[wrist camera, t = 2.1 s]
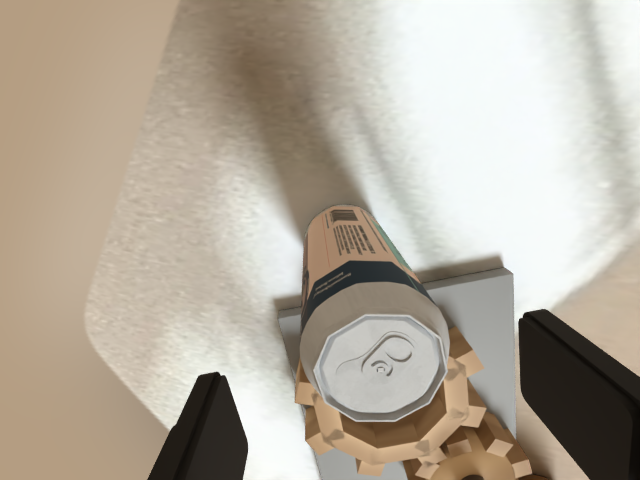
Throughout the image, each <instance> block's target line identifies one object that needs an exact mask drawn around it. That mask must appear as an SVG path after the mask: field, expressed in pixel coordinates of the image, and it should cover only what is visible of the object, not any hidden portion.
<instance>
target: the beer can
mask: <svg viewBox="0 0 640 480" xmlns="http://www.w3.org/2000/svg"><path fill="white" fill-rule="evenodd" d="M449 347H450V339H449V333H448V327H447V324H446V321H445V319H444V317H443V315H442V313H441V311H440V310H439V308H438V307H437V305H436V304H435V302H434V301H433V300H432V298H431V297H430V295H429V294H428V293H427V291H426V290H425V288H424V287H423V286H422V284H421V283H420V281H419V280H418V278H417V277H416V276H415V274H414V273H413V271H412V270H411V269H410V267H409V266H408V264H407V263H406V262H405V260H404V259H403V257H402V256H401V254H400V253H399V252H398V250H397V249H396V247H395V246H394V245H393V243H392V242H391V240H390V239H389V238H388V236H387V235H386V233H385V232H384V230H383V229H382V228H381V226H380V225H379V223H378V222H377V221H376V219H375V218H374V217H373V216H372V215H371V214H370V213H368V212H367V211H365V210H363V209H362V208H360V207H357V206H353V205H336V206H332V207H329V208H327V209H325V210H323V211H322V212H320V213H319V214H318V215H316V217H315V218H314V219H313V220H312V221H311V223H310V224H309V226H308V228H307V231H306V233H305V239H304V253H303V277H302V301H301V326H300V359H301V362H302V366H303V369H304V372H305V374H306V376H307V378H308V380H309V381H310V383H311V384H312V386H313V387H314V388H315V390H316V391H317V392H318V393H319V394H320V395H321V397H322V398H323V400H324V402H325V403H326V404H327V405H329V406H331V407H332V408H334V409H336V410H337V411H339V412H341V413H342V414H344V415H346V416H347V417H349V418H350V419H352V420H354V421H355V422H396V421H398V420H399V419H401V418H403V417H405V416H407V415H409V414H411V413H413V412H415V411H416V410H418V409H420V408H422V407H424V406H426V405H428V404H430V402H431V400H432V399H433V397H434V395H435V393H436V392H437V390H438V388H439V387H440V385H441V383H442V381H443V380H444V378H445V376H446V374H447V373H448V370H447V363H448V356H449Z"/></svg>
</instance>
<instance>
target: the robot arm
mask: <svg viewBox="0 0 640 480" xmlns="http://www.w3.org/2000/svg"><path fill="white" fill-rule="evenodd" d="M518 326H519V355H520V384H521V392H522V395H523V397H524V399H525V401H526V402H527V403H528V405H529V406H530V407H531V408H532V410H533V411H534V412H535V413H536V414H537V416H538V417H539V418H540V419H541V421H542V422H543V423H544V424H545V425H546V427H547V428H548V429H549V430H550V431H551V433H552V434H553V435H554V436H555V438H556V439H557V440H558V441H559V442H560V444H561V445H562V446H563V447H564V449H565V450H566V451H567V452H568V453H569V455H570V456H571V457H572V458H573V459H574V461H575V462H576V463H577V464H578V466H579V467H580V468H581V469H582V470H583V472H584V473H585V474H586V475H587V476H588V478H589V479H590V480H640V377H639V376H637V375H636V374H635V373H633V372H632V371H630V370H629V369H628V368H626V367H625V366H624V365H622V364H621V363H619V362H618V361H617V360H615V359H614V358H613V357H611V356H610V355H608V354H607V353H606V352H604V351H603V350H602V349H600V348H599V347H597V346H596V345H595V344H593V343H592V342H590V341H589V340H588V339H586V338H585V337H584V336H582V335H581V334H579V333H578V332H577V331H575V330H574V329H573V328H571V327H570V326H568V325H567V324H566V323H564V322H563V321H562V320H560V319H559V318H557V317H556V316H555V315H553V314H552V313H550V312H549V311H548V310H546V309H541V310H536V311H530V312H526V313H524V315H523V318H520V319H519V322H518ZM247 454H248V442H247V438H246V435H245V432H244V429H243V426H242V423H241V420H240V417H239V414H238V411H237V408H236V405H235V402H234V399H233V396H232V393H231V390H230V387H229V384H228V381H227V378H226V377H225V376H224V375H223V376H221V375H220V374H219V372H213V373H208V374H203V375H199V376H198V378H197V380H196V382H195V384H194V387H193V389H192V391H191V393H190V395H189V397H188V400H187V402H186V404H185V406H184V408H183V411H182V413H181V415H180V417H179V419H178V421H177V424H176V425H175V426H173V428H172V429H171V431H170V433H169V435H168V437H167V439H166V441H165V443H164V445H163V447H162V450H161V452H160V454H159V456H158V458H157V460H156V462H155V464H154V467H153V469H152V471H151V473H150V475H149V477H148V479H147V480H243V475H244V470H245V465H246V460H247Z"/></svg>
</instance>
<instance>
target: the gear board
mask: <svg viewBox="0 0 640 480" xmlns="http://www.w3.org/2000/svg"><path fill="white" fill-rule="evenodd" d="M421 284H422V286H423V287H424V288H425V290H426V291H427V293H428V294H429V295H430V297H431V298H432V300H433V301H434V302H435V304H436V305H437V307H438V308H439V310H440V311H441V313H442V315H443V317H444V319H445V321H446V324H447V327H448V330H449V329H451V328H453V327H455V326H456V327H457V328H458V330H459V331H460V332H461V334H462V335H463V336H464V338H465V339H466V341H467V342H468V343H469V345H470V346H471V347H472V349H473V350H474V352H475V353H476V355H477V357H478V358H479V360H480V362H481V363H482V365H483V366H484V369H482V370H480V371H479V372H477V373H475V374H473V375H471V376H469V377H467V380H469V381H470V382H471V384H472V385H473V387H474V388H475V390H476V392H477V393H478V395H479V396H480V398H481V400H482V401H483V403H484V404H485V406H486V408H487V409H486V412H489V413H491V414H494V415H495V417H496V418H497V420H498V421H499V423H500V424H501V426H502V428H503V429H507V428H508V429H509V430H510V432H511V433H512V435H513V436H514V438H515V439H516V397H515V341H514V286H513V273H511V272H510V271H509V270H507V269H506V268H499V269H494V270H489V271H484V272H479V273H473V274H468V275H463V276H458V277H453V278H447V279H442V280H437V281H432V282H427V283H421ZM278 321H279V325H280V329H281V332H282V336H283V340H284V343H285V347H286V351H287V354H288V358H289V362H290V365H291V369H292V372H293V376H294V380H295V383H296V373H297V368H298V364H299V359H300V326H301V307H297V308H292V309H286V310H281V311H279V315H278ZM301 405H302V409H303V413H304V416H305V415H306V409H308V408H310V407H311V406H313V405H305V404H301ZM314 453H315V456H316V460H317V464H318V467H319V471H320V475H321V478H322V480H408V479H407V475H406V472H405V468H404V465H403V461H404V460H402V461H397V462H391V463H385V465H384V468H383V471H382V474H381V477H380V476H372V475H363V474H357V467H356V460H355V457H353V456H351V455H349V454H347V453H345V452H343V451H340V450H338V449H336V448H333V449H331V450H329V451H327V452H325V453H324V454H322V455H320V456H319V455H318V454H317V453H316V452H315V451H314Z"/></svg>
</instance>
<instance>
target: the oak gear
mask: <svg viewBox="0 0 640 480" xmlns="http://www.w3.org/2000/svg"><path fill="white" fill-rule="evenodd" d="M448 333H449V339H450V347H449V356H448V363H447V370H448V373H447V374H446V376H445V378H444V380H443V381H442V383H441V385H440V387H439V388H438V390H437V392H436V393H435V395H434V397H433V399H432V400H431V402H430V404H428V405H426V406H424V407H422V408H420V409H418V410H416V411H415V412H413V413H411V414H409V415H407V416H405V417H403V418H401V419H399V420H398V421H396V422H355V421H354V420H352V419H350V418H349V417H347V416H346V415H344V414H342V413H341V412H339V411H337V410H336V409H334V408H332V407H331V406H329V405H327V404H326V403H325V402H324V400H323V398H322V397H321V395H320V394H319V393H318V392H317V391H316V390H315V388H314V387H313V386H312V384H311V383H310V381H309V380H308V378H307V376H306V374H305V372H304V369H303V366H302V362H301V359H299V364H298V368H297V373H296V387H295V403H298V404H305V405H313V406H311V407H310V408H308V409H306V415H305V441H306V442H307V443H308V444H309V445H310V446H311V447H312V449H313V450H314V451H315V452H316V453H317V454H318V455H319V456H320V455H322V454H324V453H325V452H327V451H329V450H331V449H333V448H336V449H338V450H340V451H343V452H345V453H347V454H349V455H351V456H353V457H355V460H356V467H357V474H363V475H372V476H380V477H381V474H382V471H383V468H384V465H385V463H391V462H397V461H402V460H408V459H414V458H418V459H419V461H420V462H421V463H422V464H425V465H424V467H427V468H428V465H427V463H425V461H427V462H428V464H429V463H434V464H436V463H438V462H440V461H442V460H444V459H446V458H447V457H446V454H445V452H444V450H443V447H442V445H441V444H442V443H443V442H444V441H445V440H446V439H447V438H448V437H449V436H450V435H451V434H452V433H453V432H454V431H455V430H456V429H457V428H458V427H459V426H460V425H463V426H470V427H479V425H480V422H481V420H482V418H483V415H484V413H485V411H486V409H487V408H486V406H485V404H484V403H483V401H482V400H481V398H480V396H479V395H478V393H477V392H476V390H475V388H474V387H473V385H472V384H471V382H470V381H469V380H467V377H469V376H471V375H473V374H475V373H477V372H479V371H480V370H482V369H484V366H483V365H482V363H481V362H480V360H479V358H478V357H477V355H476V353H475V352H474V350H473V349H472V347H471V346H470V345H469V343H468V342H467V341H466V339H465V338H464V336H463V335H462V334H461V332H460V331H459V330H458V328H457V327H456V326H455V327H453V328H451V329H449V330H448ZM430 466H432V464H429V467H430Z"/></svg>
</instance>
